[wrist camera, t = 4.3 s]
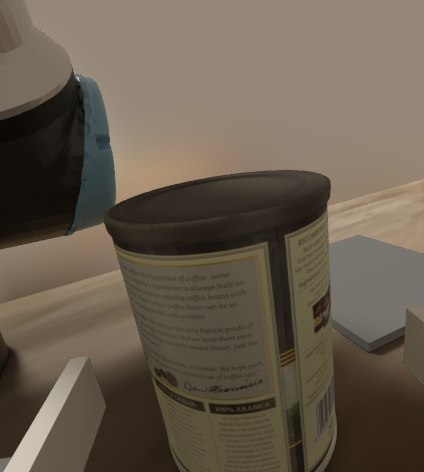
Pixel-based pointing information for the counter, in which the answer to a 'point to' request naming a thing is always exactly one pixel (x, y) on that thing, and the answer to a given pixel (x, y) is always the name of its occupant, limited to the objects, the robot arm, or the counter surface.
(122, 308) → the counter surface
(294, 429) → the coffee can
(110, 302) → the counter surface
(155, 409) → the counter surface
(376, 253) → the mat
